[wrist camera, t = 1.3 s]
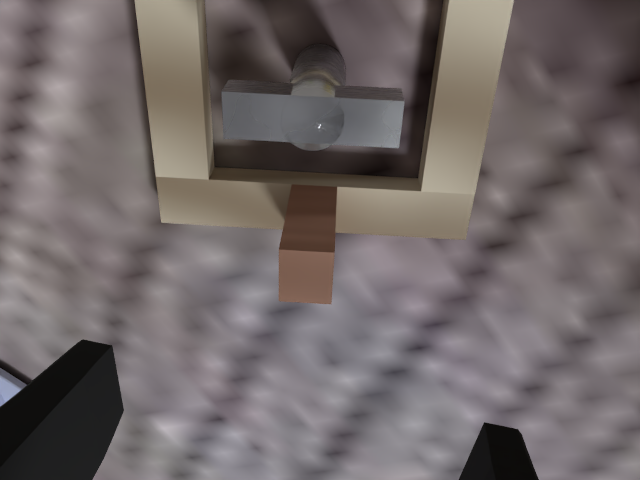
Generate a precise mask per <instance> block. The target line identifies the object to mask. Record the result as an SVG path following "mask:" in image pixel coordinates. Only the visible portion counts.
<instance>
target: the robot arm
mask: <svg viewBox="0 0 640 480" xmlns="http://www.w3.org/2000/svg"><path fill="white" fill-rule="evenodd" d="M123 411H124V409H123V403H122V398H121V392H120V386H119V381H118V375H117V370H116V364H115V358H114V353H113V347H112V345H107V344H102V343H97V342H92V341H88V340H81V341H80V342H78V343H77V344H76V345H74V346H73V347H72V348H71V349H70V350H68V351H67V352H66V353H65V354H64V355H62V356H61V357H60V358H59V359H58V360H56V361H55V362H54V363H53V364H52V365H51V366H49V367H48V368H47V369H46V370H45V371H43V372H42V373H41V374H40V375H39V376H37V377H36V378H35V379H34V380H33V381H31V382H30V383H29V384H28V385H26V384H25V383H23V382H22V381H20V380H19V379H17V378H15V377H14V376H12V375H11V374H9V373H8V372H6V371H5V370H3V369H1V368H0V480H92V479H93V477H94V476H95V474H96V472H97V470H98V468H99V466H100V465H101V463H102V461H103V459H104V457H105V454H106V452H107V450H108V447H109V445H110V443H111V441H112V438H113V436H114V433H115V431H116V428H117V426H118V424H119V421H120V419H121V416H122V414H123ZM459 480H539V479H538V477H537V474H536V472H535V469H534V467H533V464H532V461H531V459H530V456H529V453H528V451H527V448H526V445H525V442H524V440H523V437H522V434H521V433H520V432H519V430H518V429H514V428H509V427H504V426H499V425H494V424H490V423H485V422H484V424H483V426H482V429H481V431H480V433H479V435H478V438H477V440H476V442H475V444H474V447H473V449H472V451H471V453H470V456H469V458H468V460H467V462H466V465H465V467H464V469H463V471H462V474H461V476H460V478H459Z"/></svg>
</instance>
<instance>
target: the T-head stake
mask: <svg viewBox="0 0 640 480" xmlns="http://www.w3.org/2000/svg"><path fill="white" fill-rule="evenodd" d="M345 81H346V66H345V62H344V59H343V57H342V56H341V54H340V53H339V52H338V51H337V50H336V49H335V48H333V47H331V46H329V45H325V44H314V45H311V46H309V47H307V48H305V49H304V50H303V51H302V52H301V53H300V54H299V56H298V57H297V59H296V62H295V65H294V69H293V72H292V75H291V78H290V82H289V83H283V82H264V81H245V80H228V82H227V83H226V85H225V87H224V88H223V90H222V91H221V94H222V114H223V133H224V139H241V140H259V141H278V142H291V143H292V144H293V145H295V146H296V147H298V148H301V149H303V150H309V151H317V150H322V149H325V148H327V147H329V146H331V145H332V144H333V145H351V146H369V147H388V148H399V143H400V135H401V126H402V118H403V110H404V97H403V93H402V89H397V88H378V87H359V86H345Z"/></svg>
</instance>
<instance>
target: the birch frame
mask: <svg viewBox="0 0 640 480" xmlns="http://www.w3.org/2000/svg"><path fill="white" fill-rule="evenodd" d="M513 2H514V0H443V6H442V13H441V20H440V27H439V35H438V42H437V49H436V56H435V63H434V70H433V77H432V84H431V91H430V98H429V105H428V112H427V119H426V126H425V133H424V140H423V147H422V154H421V161H420V168H419V175H418V178H404V177H386V176H368V175H350V174H332V173H314V172H296V171H278V170H260V169H241V168H223V167H215V165H214V148H213V132H212V116H211V99H210V83H209V67H208V50H207V34H206V18H205V1H204V0H135V8H136V16H137V24H138V33H139V41H140V49H141V58H142V66H143V74H144V82H145V91H146V99H147V107H148V116H149V124H150V132H151V141H152V149H153V157H154V165H155V174H156V182H157V190H158V199H159V207H160V215H161V223H177V224H195V225H212V226H230V227H247V228H265V229H283V232H282V237H281V242H280V247H279V301H285V302H302V303H319V304H331V300H332V284H333V268H334V251H335V233H353V234H370V235H388V236H405V237H423V238H440V239H458V240H466V235H467V230H468V225H469V220H470V215H471V210H472V205H473V200H474V196H475V191H476V186H477V181H478V176H479V171H480V166H481V161H482V156H483V151H484V146H485V141H486V136H487V131H488V126H489V121H490V116H491V111H492V106H493V101H494V96H495V91H496V86H497V82H498V77H499V72H500V67H501V62H502V57H503V52H504V47H505V42H506V37H507V32H508V27H509V22H510V17H511V12H512V7H513Z"/></svg>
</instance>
